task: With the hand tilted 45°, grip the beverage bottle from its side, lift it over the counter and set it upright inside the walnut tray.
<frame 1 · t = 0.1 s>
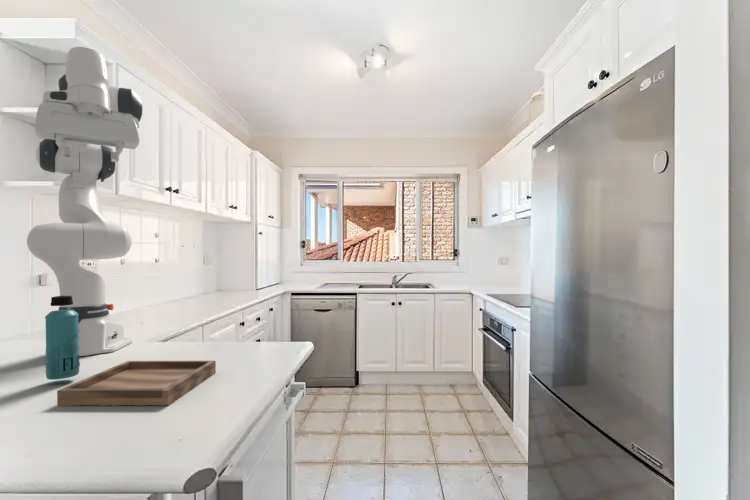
hand: (91, 158, 97), 52 cm above the counter, tool tilted 20°, fingers open, 8 cm apart
beverage bottle: (62, 382, 96), on the counter
walnut tray: (145, 387, 92), on the counter
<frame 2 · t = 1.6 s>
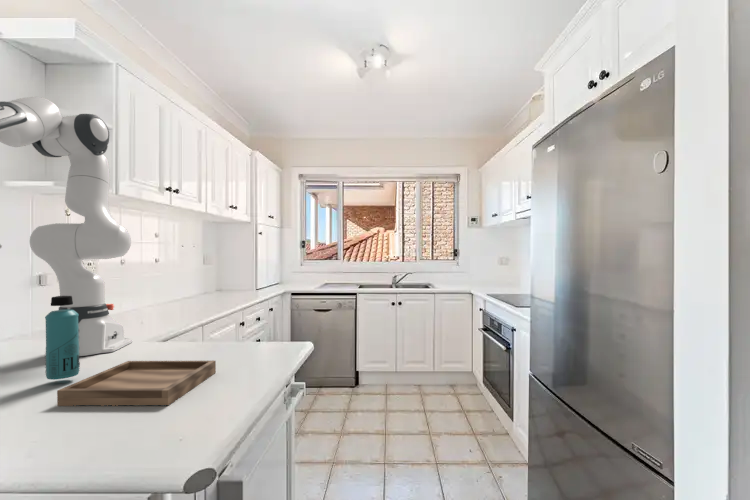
nothing on the counter moved.
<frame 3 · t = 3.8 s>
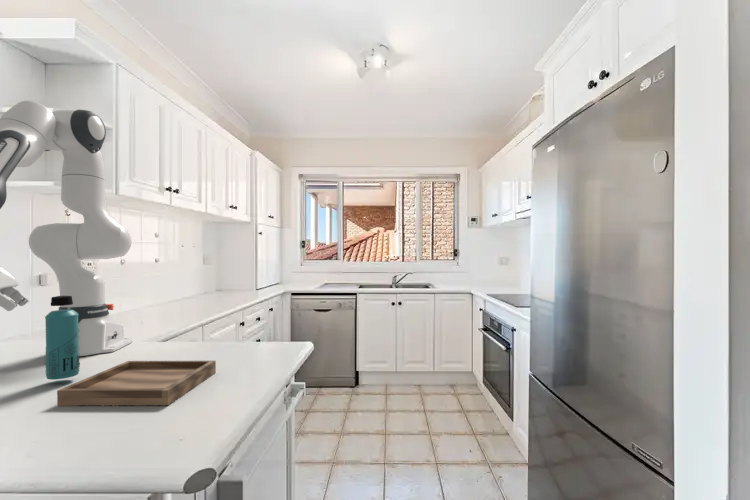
hand: (20, 306, 93), 18 cm above the counter, tool tilted 45°, fingers open, 8 cm apart
nothing on the counter moved.
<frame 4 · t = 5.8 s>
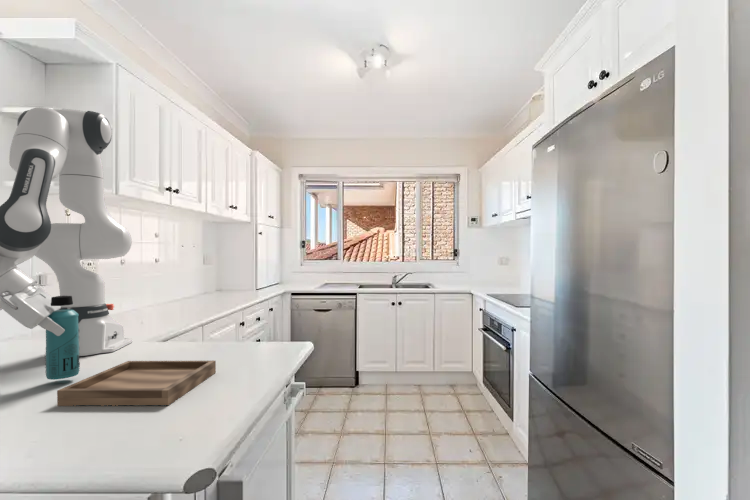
hand: (65, 330, 97), 12 cm above the counter, tool tilted 45°, fingers closed on beverage bottle, 6 cm apart
beverage bottle: (62, 382, 96), on the counter, touching gripper
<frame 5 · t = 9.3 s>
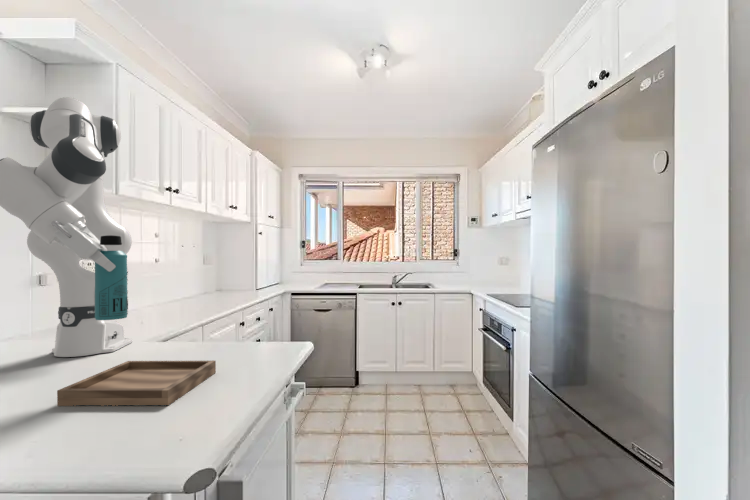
hand: (115, 269, 93), 26 cm above the counter, tool tilted 45°, fingers closed on beverage bottle, 6 cm apart
beverage bottle: (111, 325, 93), point 14 cm above the counter, touching gripper
when the fingers open (15 cm above the counter, at t = 12.5 s): beverage bottle stays where it is, resting on walnut tray.
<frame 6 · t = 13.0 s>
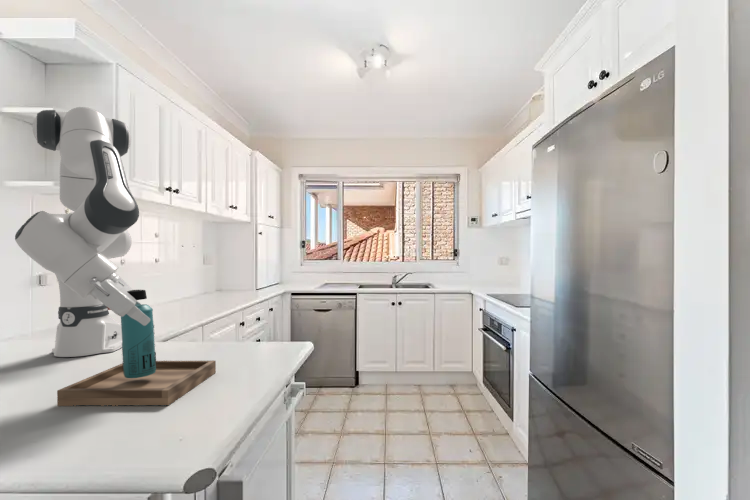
hand: (148, 319, 92), 15 cm above the counter, tool tilted 45°, fingers open, 8 cm apart
beverage bottle: (140, 381, 91), point 1 cm above the counter, touching walnut tray
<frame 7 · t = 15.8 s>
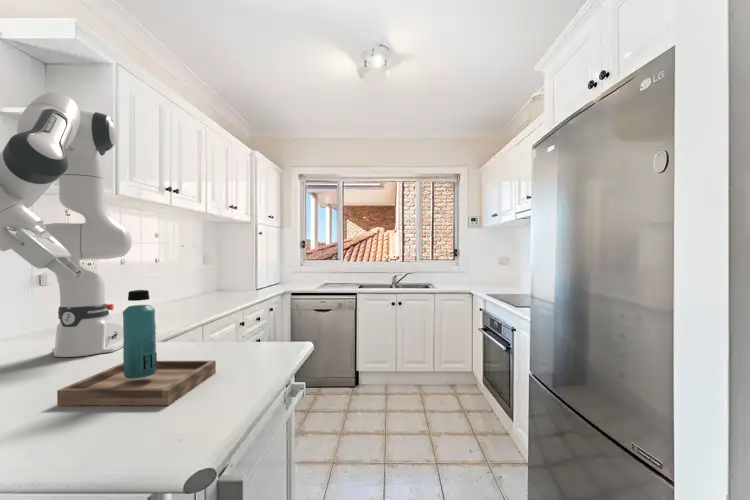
hand: (77, 277, 86), 25 cm above the counter, tool tilted 45°, fingers open, 8 cm apart
nothing on the counter moved.
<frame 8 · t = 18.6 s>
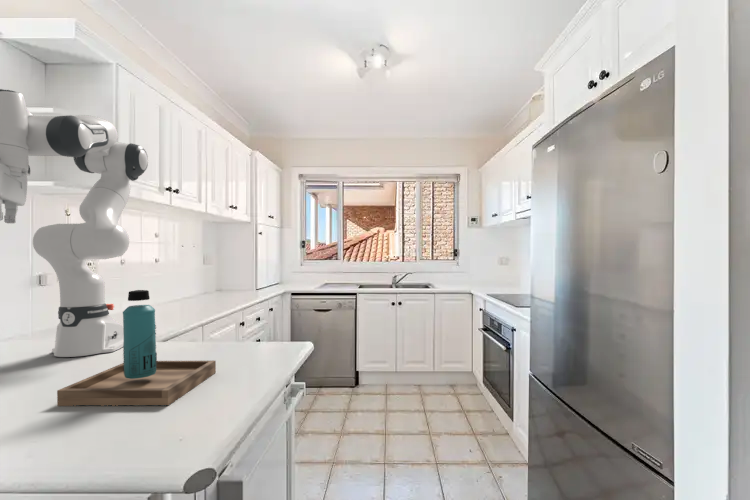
hand: (3, 221, 94), 37 cm above the counter, tool pointing down, fingers open, 8 cm apart
nothing on the counter moved.
at the end: beverage bottle inside the target area on the walnut tray (1.0 cm from its centre), point 1.3 cm above the walnut tray's base; beverage bottle tilted 0°; the gripper is holding nothing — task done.
